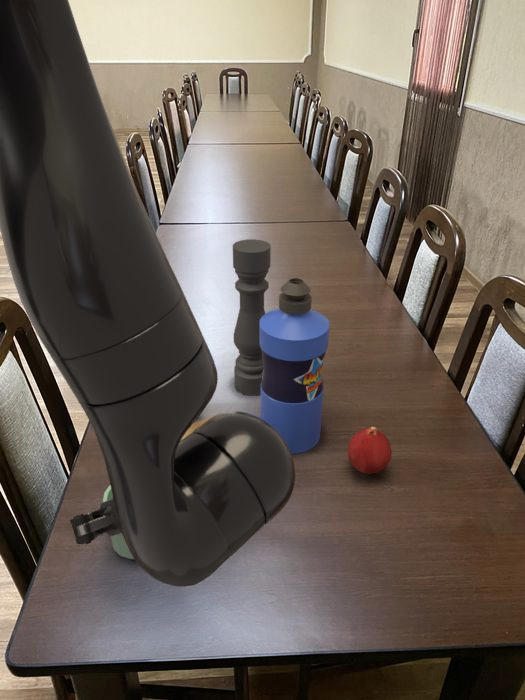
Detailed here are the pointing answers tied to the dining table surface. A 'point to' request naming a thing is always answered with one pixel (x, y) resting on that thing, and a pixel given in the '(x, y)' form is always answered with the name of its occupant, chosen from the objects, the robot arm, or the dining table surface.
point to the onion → (369, 451)
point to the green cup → (118, 539)
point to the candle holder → (250, 312)
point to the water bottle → (293, 367)
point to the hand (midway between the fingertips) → (136, 506)
